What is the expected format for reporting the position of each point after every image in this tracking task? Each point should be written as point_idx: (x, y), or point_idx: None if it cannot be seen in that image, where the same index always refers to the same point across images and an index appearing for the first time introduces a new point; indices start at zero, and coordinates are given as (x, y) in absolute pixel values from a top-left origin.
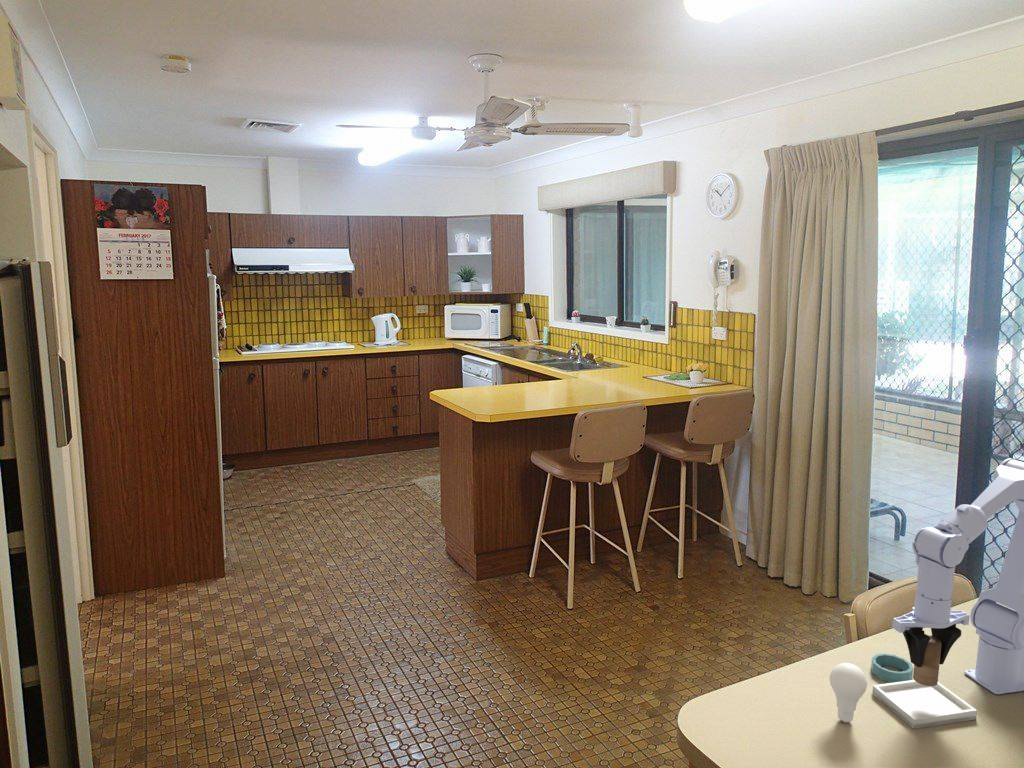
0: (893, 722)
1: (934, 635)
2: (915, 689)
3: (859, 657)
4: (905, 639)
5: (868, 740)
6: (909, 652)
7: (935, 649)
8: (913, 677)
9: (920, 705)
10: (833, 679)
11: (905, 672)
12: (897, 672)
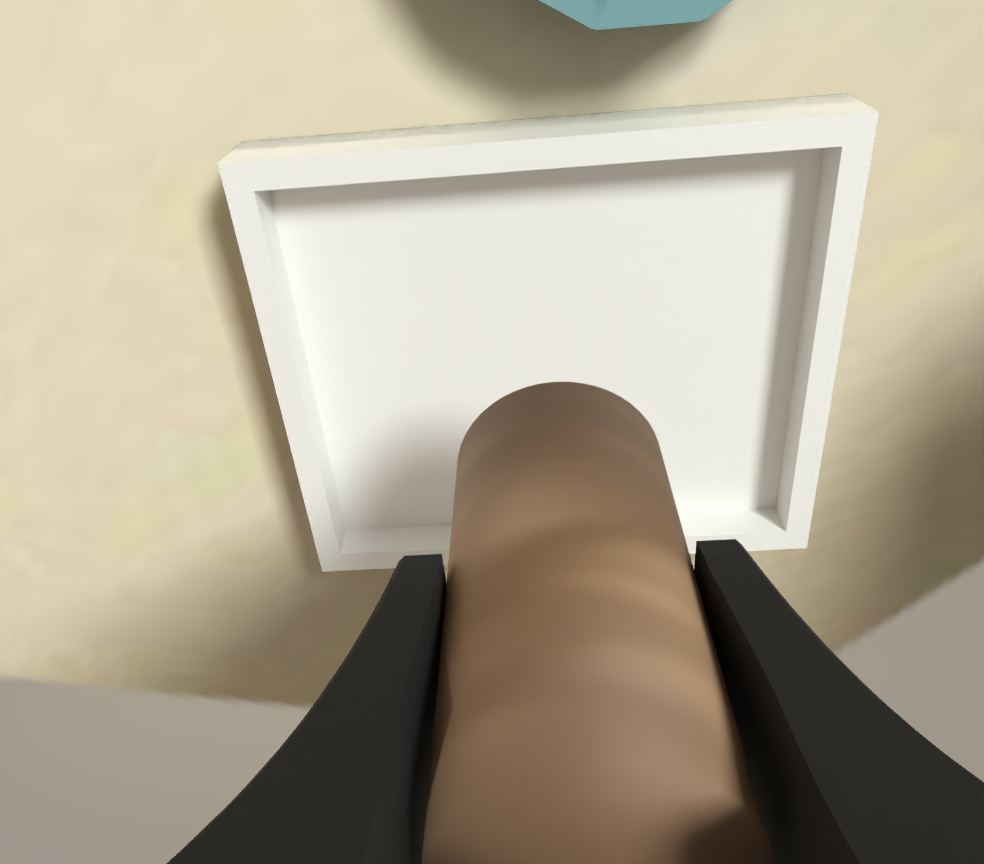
0: (242, 464)
1: (798, 807)
2: (618, 195)
3: None
4: (267, 762)
5: (22, 572)
6: (367, 628)
7: None
8: (462, 446)
9: (503, 391)
10: None
11: (659, 18)
12: (572, 5)
